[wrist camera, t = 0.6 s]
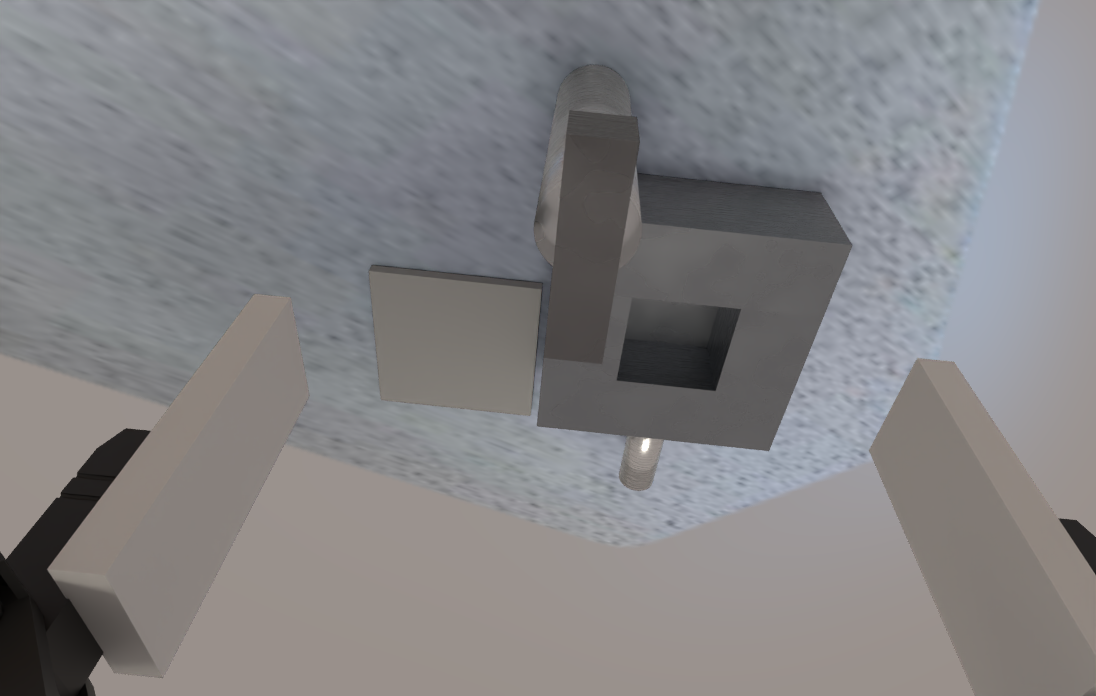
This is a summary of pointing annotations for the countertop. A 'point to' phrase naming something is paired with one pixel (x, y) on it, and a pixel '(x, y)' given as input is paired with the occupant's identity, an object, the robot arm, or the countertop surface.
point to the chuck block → (704, 321)
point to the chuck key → (588, 209)
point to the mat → (455, 339)
